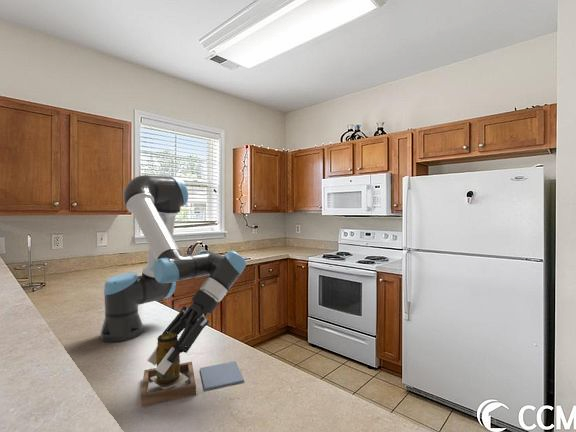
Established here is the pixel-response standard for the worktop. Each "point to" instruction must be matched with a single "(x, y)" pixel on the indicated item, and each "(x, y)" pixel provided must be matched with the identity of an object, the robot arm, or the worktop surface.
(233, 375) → the mat
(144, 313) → the worktop surface
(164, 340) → the condiment
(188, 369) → the pocket
